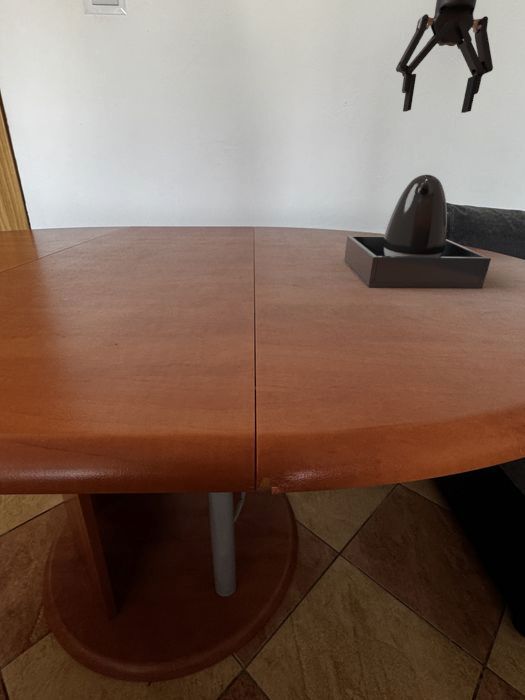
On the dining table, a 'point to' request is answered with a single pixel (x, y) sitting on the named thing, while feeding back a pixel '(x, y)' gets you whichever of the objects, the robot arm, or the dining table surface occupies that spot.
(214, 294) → the dining table surface
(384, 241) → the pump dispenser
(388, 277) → the dark brown tray
